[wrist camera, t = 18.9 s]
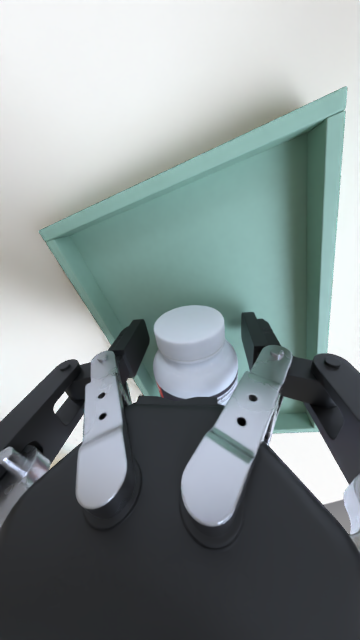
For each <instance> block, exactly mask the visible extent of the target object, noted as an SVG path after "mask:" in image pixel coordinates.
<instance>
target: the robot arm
mask: <svg viewBox="0 0 360 640" xmlns="http://www.w3.org/2000/svg"><path fill="white" fill-rule="evenodd" d="M241 339H242V343H243V347H244V351H245V354H246V358H247V362H248V366H249V369H250V372H248V371H246V372H245V373H244V374H243V376H242V378H241V380H240V381H239V383H238V385H237V386H236V388H235V390H234V392H233V393H232V395H231V397H230V398H229V400H228V402H227V404H226V405H225V406H224V405H221V404H218V401H217V397H193V398H188V399H184V400H179V401H173V400H170V399H166V398H162V397H159V396H139V397H138V400H137V402H136V403H133V404H132V401H131V397H130V392H129V388H128V384H127V382H126V381H127V379H128V378H135V376H136V373H137V371H138V369H139V367H140V364H141V362H142V360H143V357H144V355H145V353H146V350H147V348H148V346H149V342H150V337H149V333H148V330H147V326H146V323H145V320H144V319H136V320H133V321H132V322H131V324H130V325H129V326H128V327H126V328H124V329H123V330H122V331H121V332H120V334H119V336H118V337H117V338H116V340H115V341H114V342H113V344H112V345H111V347H110V348H109V349H108V351H104V352H101V353H99V354H97V355H96V356H95V357H94V358H93V359H92V361H91V362H90V363H86V364H82V365H80V364H79V363H78V361H77V360H75V359H71V360H67V361H65V362H63V363H61V364H59V365H58V366H57V367H56V368H55V369H54V370H53V371H52V372H51V373H50V374H49V375H48V376H47V377H46V378H45V379H44V380H43V381H42V382H40V383H39V384H38V385H37V386H36V387H35V388H34V389H33V390H32V391H31V392H30V393H29V394H28V395H27V396H26V397H25V398H24V399H23V400H22V401H21V402H20V403H19V404H18V405H17V406H16V407H15V408H14V409H13V410H12V411H11V412H10V413H9V414H8V415H7V416H6V417H5V418H4V419H3V420H2V421H1V422H0V640H360V373H359V372H358V371H357V370H356V369H355V368H354V367H353V366H352V365H351V364H350V363H349V362H348V361H346V360H345V359H343V358H341V357H339V356H337V355H333V354H328V353H321V354H317V355H315V356H314V358H313V360H309V359H303V358H298V357H295V356H293V355H292V353H291V352H290V351H289V350H288V349H286V348H285V347H282V346H281V345H280V343H279V341H278V339H277V337H276V336H275V334H274V333H273V330H272V328H271V326H270V325H269V323H268V322H267V321H265V320H264V319H257V318H256V316H255V313H254V312H242V314H241ZM64 392H66V393H67V395H68V396H69V397H68V398H67V400H66V401H65V402H64V404H63V405H62V406H61V407H60V409H59V410H58V411H57V412H56V414H55V413H54V411H53V407H54V404H55V403H56V401H57V400H58V399H59V398H60V397H61V395H62V394H63V393H64ZM284 397H287V398H291V399H294V400H298V401H301V402H303V403H304V405H305V407H306V408H307V410H308V412H309V414H310V416H311V417H312V419H313V421H314V423H315V424H316V426H317V428H318V430H319V432H320V433H321V435H322V437H323V439H324V440H325V442H326V444H327V446H328V448H329V449H330V451H331V453H332V455H333V456H334V458H335V460H336V462H337V464H338V465H339V467H340V469H341V471H342V472H343V474H344V476H345V478H346V480H347V481H348V483H349V486H348V487H347V489H346V490H345V492H344V497H343V498H344V505H345V508H346V510H347V513H348V516H349V519H350V522H351V533H350V534H348V533H347V532H346V531H345V529H344V528H343V527H342V525H341V524H340V523H339V522H338V521H337V520H336V519H335V517H333V515H332V514H331V513H330V512H329V511H328V510H327V509H326V508H325V507H324V505H323V504H322V503H321V502H320V501H319V500H318V499H317V498H316V497H315V496H314V495H313V494H312V492H311V491H310V490H309V489H308V488H307V487H306V486H305V485H304V484H303V483H302V482H301V481H300V479H299V478H298V477H297V476H296V475H295V474H294V473H293V472H292V471H291V470H290V469H289V468H288V466H287V465H286V464H285V463H284V462H283V461H282V460H281V459H280V458H279V457H278V456H277V455H276V453H275V452H274V451H273V450H272V449H271V448H270V447H269V443H270V440H271V437H272V433H273V429H274V426H275V422H276V419H277V416H278V413H279V410H280V407H281V404H282V401H283V398H284ZM83 414H84V425H83V442H81V443H80V444H79V445H78V446H77V447H75V448H74V449H73V450H72V451H71V452H70V453H68V454H67V455H66V456H65V457H64V458H63V459H61V460H60V461H59V462H58V463H57V464H56V465H54V466H53V467H52V468H51V469H50V470H49V468H50V465H51V463H52V462H53V460H54V459H55V457H56V455H57V454H58V452H59V451H60V449H61V448H62V446H63V445H64V443H65V442H66V440H67V439H68V437H69V436H70V434H71V432H72V431H73V429H74V428H75V426H76V425H77V423H78V422H79V420H80V419H81V417H82V416H83Z"/></svg>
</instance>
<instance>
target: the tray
mask: <svg viewBox="0 0 360 640" xmlns="http://www.w3.org/2000/svg"><path fill="white" fill-rule="evenodd" d="M346 98H347V87H343V88H341V89H339V90H337V91H334V92H332V93H330V94H328V95H326V96H324V97H322V98H320V99H317V100H315V101H313V102H311V103H309V104H307V105H305V106H303V107H300V108H298V109H296V110H294V111H292V112H290V113H288V114H286V115H283V116H281V117H279V118H277V119H275V120H273V121H271V122H269V123H266V124H264V125H262V126H260V127H258V128H256V129H254V130H252V131H249V132H247V133H245V134H243V135H241V136H239V137H237V138H235V139H232V140H230V141H228V142H226V143H224V144H222V145H220V146H218V147H215V148H213V149H211V150H209V151H207V152H205V153H203V154H201V155H198V156H196V157H194V158H192V159H190V160H188V161H186V162H184V163H181V164H179V165H177V166H175V167H173V168H171V169H169V170H167V171H164V172H162V173H160V174H158V175H156V176H154V177H152V178H150V179H147V180H145V181H143V182H141V183H139V184H137V185H135V186H133V187H130V188H128V189H126V190H124V191H122V192H120V193H118V194H116V195H113V196H111V197H109V198H107V199H105V200H103V201H101V202H99V203H96V204H94V205H92V206H90V207H88V208H86V209H84V210H82V211H79V212H77V213H75V214H73V215H71V216H69V217H67V218H65V219H62V220H60V221H58V222H56V223H54V224H52V225H50V226H48V227H45V228H43V229H41V230H39V233H40V235H41V236H42V238H43V239H44V241H45V242H46V244H47V245H48V247H49V249H50V250H51V252H52V253H53V255H54V256H55V258H56V259H57V261H58V263H59V264H60V266H61V267H62V269H63V270H64V272H65V273H66V275H67V277H68V278H69V280H70V281H71V283H72V284H73V286H74V287H75V289H76V291H77V292H78V294H79V295H80V297H81V298H82V300H83V302H84V303H85V305H86V306H87V308H88V309H89V311H90V312H91V314H92V316H93V317H94V319H95V320H96V322H97V323H98V325H99V326H100V328H101V330H102V331H103V333H104V334H105V336H106V337H107V339H108V341H109V342H110V344H111V345H112V344H113V342H114V341H115V340H116V338H117V337H118V336H119V334H120V332H121V331H122V330H123V329H124V328H126V327H128V326H129V325H130V324H131V322H132V321H133V320H136V319H144V320H145V323H146V326H147V330H148V333H149V337H150V342H149V346H148V348H147V350H146V353H145V355H144V357H143V360H142V362H141V364H140V367H139V369H138V371H137V373H136V376H135V378H133V380H134V381H135V383H136V384H137V386H138V387H139V389H140V390H141V392H142V394H143V395H144V396H159V397H161V396H160V392H159V389H158V386H157V383H156V380H155V376H154V372H153V361H154V357H155V354H156V352H157V351H158V346H157V342H156V338H155V334H154V324H155V322H156V321H157V319H158V318H159V317H160V316H161V315H163V314H164V313H166V312H168V311H170V310H172V309H175V308H178V307H182V306H189V305H202V306H208V307H211V308H214V309H216V310H217V311H219V312H220V313H221V314H222V316H223V318H224V326H225V339H226V340H227V341H228V342H229V343H230V344H231V345H232V347H233V348H234V350H235V352H236V355H237V359H238V383H239V381H240V380H241V378H242V376H243V374H244V373H245V372H246V371H248V372H250V369H249V366H248V362H247V358H246V354H245V351H244V347H243V343H242V339H241V314H242V312H254V313H255V316H256V318H257V319H264V320H265V321H267V322H268V323H269V325H270V326H271V328H272V330H273V333H274V334H275V336H276V337H277V339H278V341H279V343H280V345H281V346H282V347H285V348H286V349H288V350H289V351H290V352H291V353H292V355H293V356H295V357H298V358H303V359H309V360H313V358H314V356H315V355H317V354H321V353H327V348H328V335H329V322H330V309H331V296H332V283H333V270H334V256H335V243H336V230H337V217H338V204H339V191H340V178H341V165H342V152H343V139H344V126H345V113H346V111H344V110H345V108H346ZM299 432H319V430H318V428H317V426H316V424H315V423H314V421H313V419H312V417H311V416H310V414H309V412H308V410H307V408H306V407H305V405H304V403H303V402H301V401H298V400H294V399H291V398H287V397H284V398H283V401H282V404H281V407H280V410H279V413H278V416H277V419H276V422H275V426H274V429H273V433H299ZM273 433H272V434H273Z"/></svg>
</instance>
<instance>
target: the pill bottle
mask: <svg viewBox="0 0 360 640" xmlns="http://www.w3.org/2000/svg"><path fill="white" fill-rule="evenodd" d="M154 334H155V338H156V342H157V346H158V351H157V352H156V354H155V357H154V361H153V372H154V376H155V380H156V383H157V386H158V389H159V392H160V396H161V397H162V398H166V399H170V400H173V401H179V400H184V399H188V398H193V397H217V401H218V404H221V405H224V406H225V405H226V404H227V402H228V400H229V398H230V397H231V395H232V393H233V392H234V390H235V388H236V386H237V385H238V359H237V355H236V352H235V350H234V348H233V347H232V345H231V344H230V343H229V342H228V341H227V340H226V339H225V326H224V318H223V316H222V314H221V313H220V312H219V311H217V310H216V309H214V308H211V307H208V306H202V305H189V306H182V307H178V308H175V309H172V310H170V311H168V312H166V313H164V314H163V315H161V316H160V317H159V318H158V319H157V321H156V322H155V324H154Z"/></svg>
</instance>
